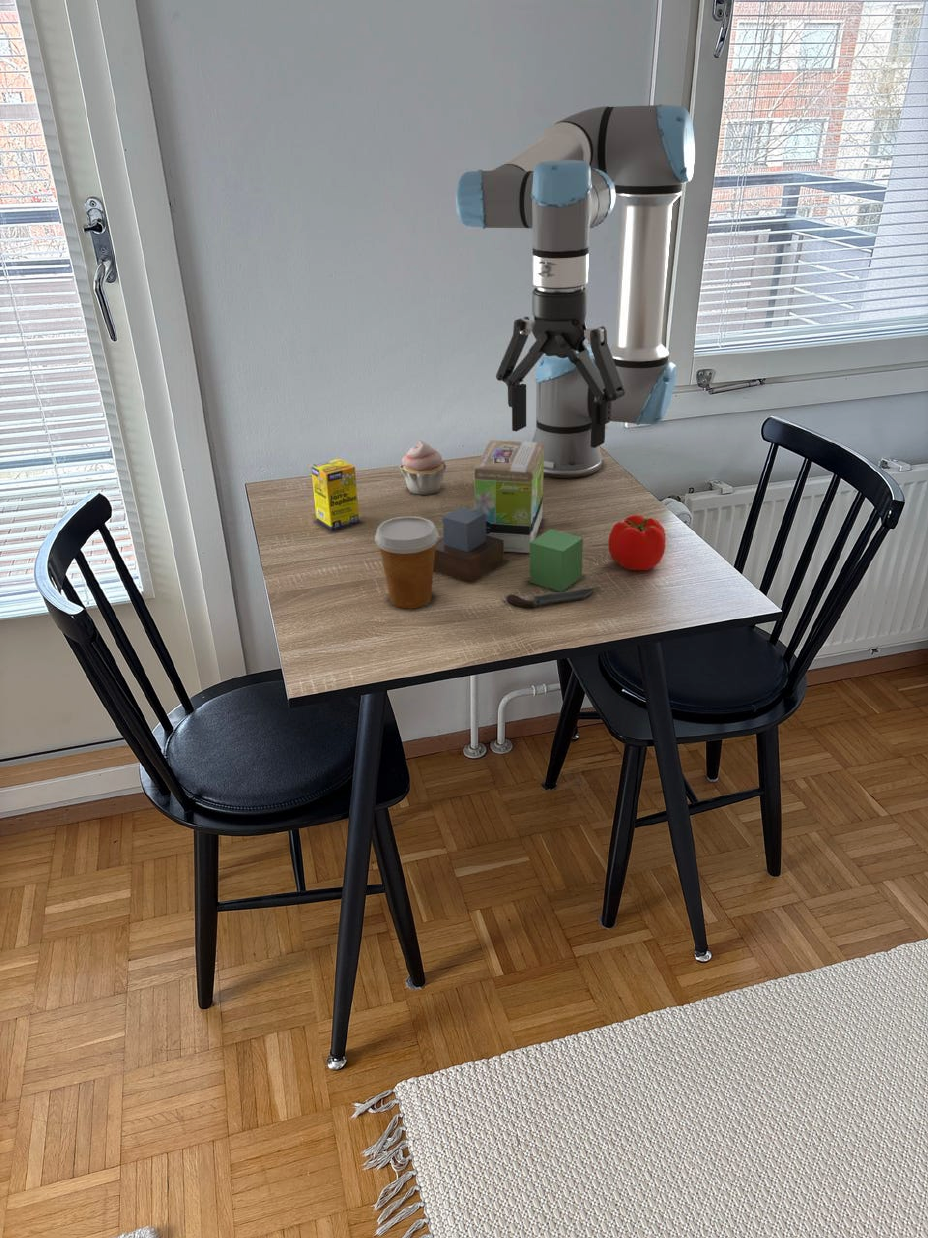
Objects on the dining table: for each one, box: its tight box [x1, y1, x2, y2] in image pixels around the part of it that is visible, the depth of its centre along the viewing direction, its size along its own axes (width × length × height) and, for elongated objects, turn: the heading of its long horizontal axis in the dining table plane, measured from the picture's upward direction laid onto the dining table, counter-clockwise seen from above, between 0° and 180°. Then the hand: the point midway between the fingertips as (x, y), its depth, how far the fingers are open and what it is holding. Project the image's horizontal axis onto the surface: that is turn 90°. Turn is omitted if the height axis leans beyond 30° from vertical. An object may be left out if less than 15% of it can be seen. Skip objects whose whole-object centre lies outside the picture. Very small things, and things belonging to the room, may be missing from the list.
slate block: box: [441, 506, 486, 552], centre depth 150 cm, size 5×5×5 cm
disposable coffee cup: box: [374, 515, 439, 609], centre depth 141 cm, size 10×10×12 cm
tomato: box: [607, 514, 667, 571], centre depth 150 cm, size 9×9×8 cm
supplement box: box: [310, 458, 360, 532], centre depth 167 cm, size 6×6×11 cm
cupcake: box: [398, 439, 448, 496], centre depth 180 cm, size 9×9×10 cm
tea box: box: [474, 439, 544, 554], centre depth 159 cm, size 15×10×15 cm
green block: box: [529, 528, 584, 592], centre depth 146 cm, size 6×6×7 cm
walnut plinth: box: [433, 535, 505, 584], centre depth 152 cm, size 9×9×4 cm
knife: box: [506, 586, 596, 608], centre depth 142 cm, size 14×4×1 cm, turn 104°
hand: (557, 436), depth 138 cm, fingers open, 13 cm apart
